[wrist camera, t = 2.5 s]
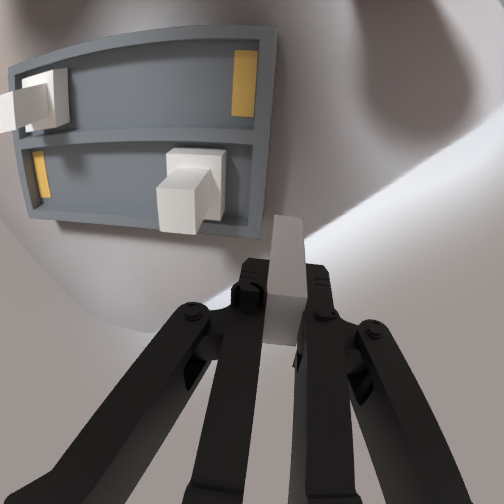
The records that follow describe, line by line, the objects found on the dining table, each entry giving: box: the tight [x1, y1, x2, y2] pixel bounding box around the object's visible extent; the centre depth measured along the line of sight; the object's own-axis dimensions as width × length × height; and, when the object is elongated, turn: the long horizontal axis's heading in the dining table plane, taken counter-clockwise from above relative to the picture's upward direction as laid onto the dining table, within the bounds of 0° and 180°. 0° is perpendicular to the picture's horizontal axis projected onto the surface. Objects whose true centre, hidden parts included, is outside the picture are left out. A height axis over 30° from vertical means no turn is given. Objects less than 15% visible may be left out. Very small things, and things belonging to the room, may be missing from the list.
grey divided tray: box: [8, 25, 278, 240], centre depth 22 cm, size 16×24×4 cm, turn 87°
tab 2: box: [156, 147, 227, 235], centre depth 21 cm, size 5×4×6 cm
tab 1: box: [0, 68, 70, 133], centre depth 17 cm, size 5×4×6 cm
